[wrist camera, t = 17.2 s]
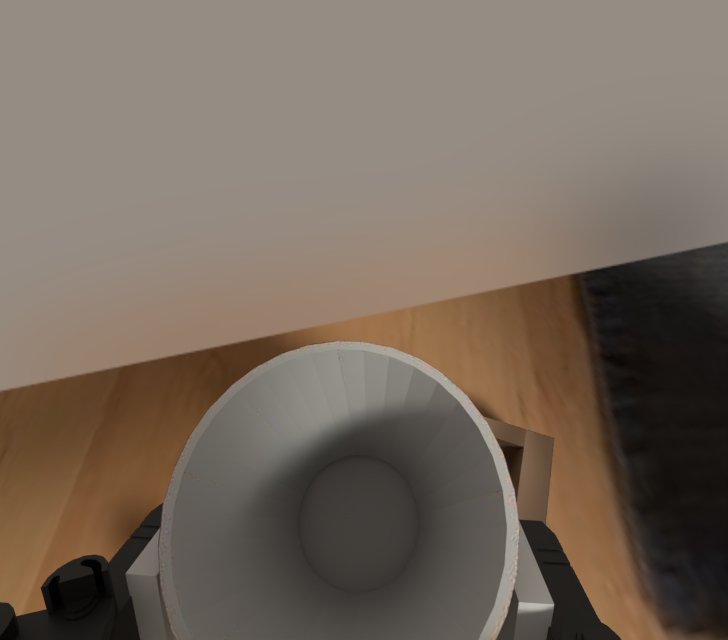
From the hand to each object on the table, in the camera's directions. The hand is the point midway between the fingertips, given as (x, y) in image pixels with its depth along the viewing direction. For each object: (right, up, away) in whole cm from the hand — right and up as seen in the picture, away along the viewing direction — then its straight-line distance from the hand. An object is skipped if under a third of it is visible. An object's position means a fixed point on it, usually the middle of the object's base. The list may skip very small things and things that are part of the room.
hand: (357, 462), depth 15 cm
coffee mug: (0, -5, +2) cm, 5 cm away
